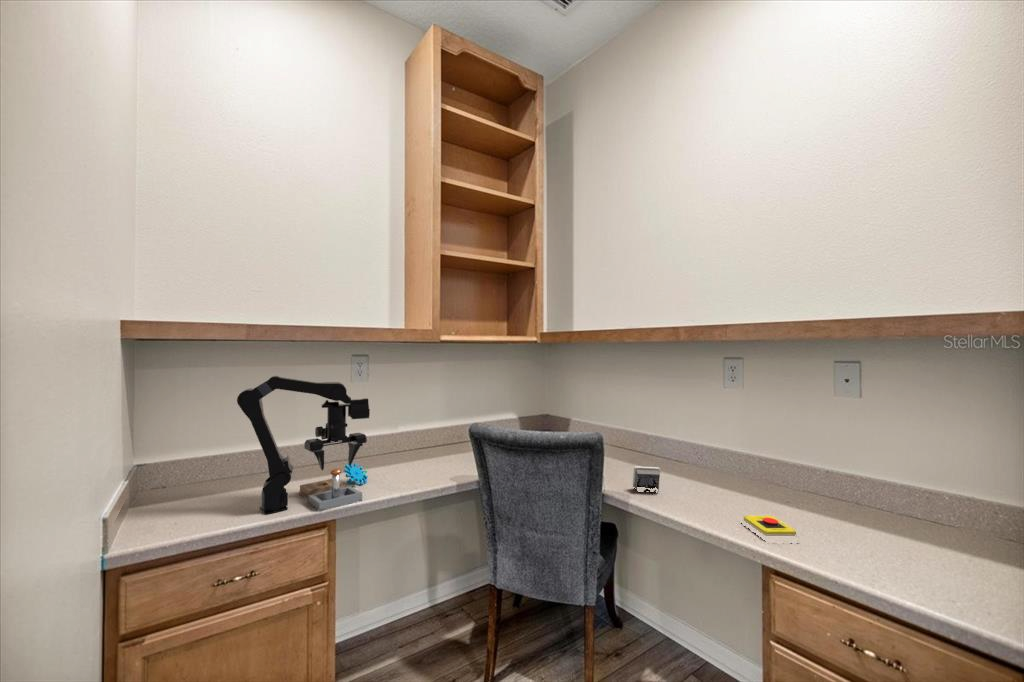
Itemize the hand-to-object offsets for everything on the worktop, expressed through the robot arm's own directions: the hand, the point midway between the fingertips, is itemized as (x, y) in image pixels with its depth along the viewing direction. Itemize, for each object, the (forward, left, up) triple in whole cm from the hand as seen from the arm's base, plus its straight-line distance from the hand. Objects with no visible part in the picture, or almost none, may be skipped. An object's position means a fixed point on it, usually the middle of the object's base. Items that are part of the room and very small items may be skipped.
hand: (336, 467), depth 146 cm
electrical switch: (+87, -65, -12) cm, 109 cm away
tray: (0, 0, -11) cm, 11 cm away
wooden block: (0, +12, -11) cm, 17 cm away
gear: (+14, +14, -12) cm, 23 cm away
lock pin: (0, 0, -11) cm, 11 cm away
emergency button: (+81, -106, -12) cm, 134 cm away
